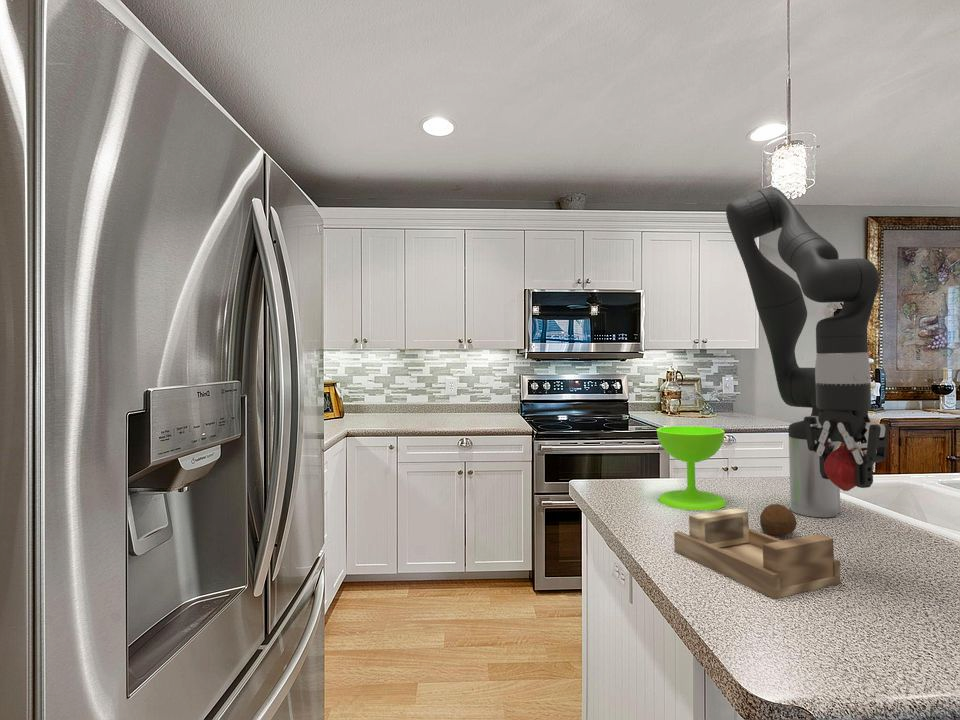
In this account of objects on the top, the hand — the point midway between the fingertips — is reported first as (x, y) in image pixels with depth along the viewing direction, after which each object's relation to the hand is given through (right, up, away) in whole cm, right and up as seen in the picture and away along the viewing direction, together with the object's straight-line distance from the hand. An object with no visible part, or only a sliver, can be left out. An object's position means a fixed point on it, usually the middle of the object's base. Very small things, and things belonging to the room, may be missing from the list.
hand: (845, 482), depth 88 cm
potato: (+1, -16, +21) cm, 26 cm away
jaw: (-15, -14, +12) cm, 24 cm away
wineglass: (-7, -16, +47) cm, 50 cm away
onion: (0, -2, 0) cm, 2 cm away
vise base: (-13, -16, +5) cm, 21 cm away
